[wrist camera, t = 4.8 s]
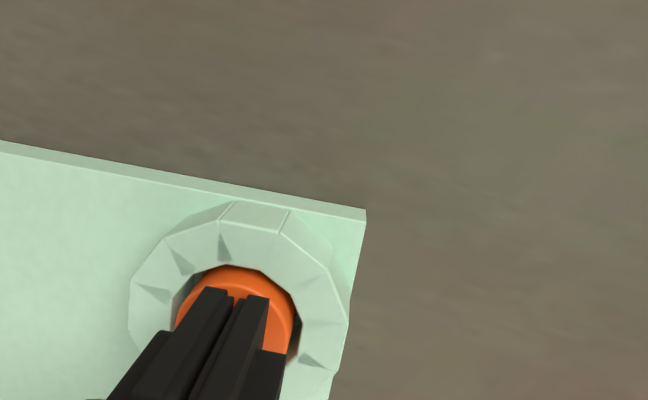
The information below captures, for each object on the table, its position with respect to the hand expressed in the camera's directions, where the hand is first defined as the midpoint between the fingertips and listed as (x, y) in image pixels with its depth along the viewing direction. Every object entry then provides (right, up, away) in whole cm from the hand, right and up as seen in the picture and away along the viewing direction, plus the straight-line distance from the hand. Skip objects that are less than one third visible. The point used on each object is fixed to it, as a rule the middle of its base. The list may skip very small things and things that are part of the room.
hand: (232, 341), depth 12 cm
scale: (-4, -2, +5) cm, 7 cm away
